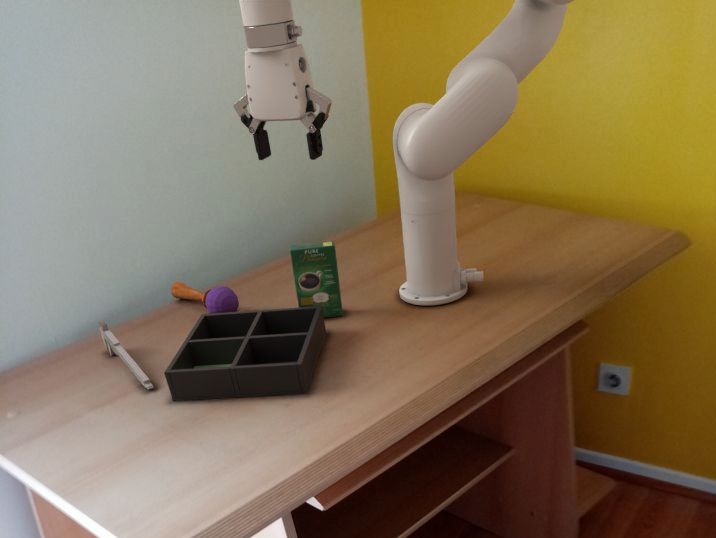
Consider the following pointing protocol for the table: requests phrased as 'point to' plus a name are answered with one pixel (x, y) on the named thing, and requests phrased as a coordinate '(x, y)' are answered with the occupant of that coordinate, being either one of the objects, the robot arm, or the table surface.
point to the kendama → (209, 297)
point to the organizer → (248, 354)
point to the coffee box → (317, 277)
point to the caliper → (122, 354)
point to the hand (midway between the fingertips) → (290, 157)
